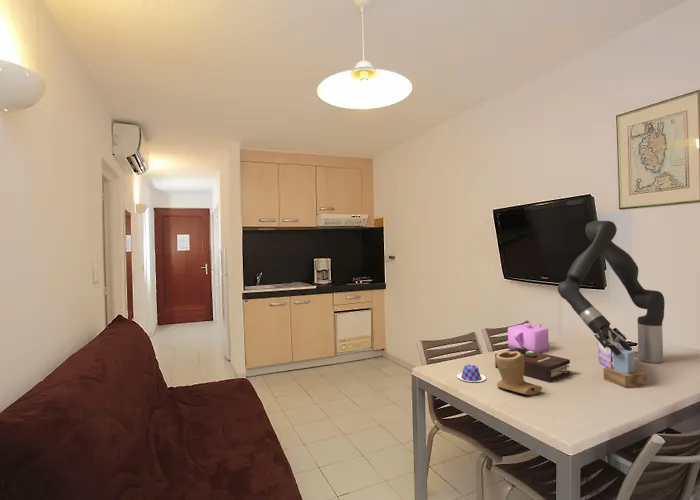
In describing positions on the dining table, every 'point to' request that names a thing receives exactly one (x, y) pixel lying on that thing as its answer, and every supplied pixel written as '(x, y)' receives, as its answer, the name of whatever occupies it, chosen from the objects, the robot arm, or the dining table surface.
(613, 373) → the walnut block
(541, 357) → the decorative book
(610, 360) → the candy box
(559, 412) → the dining table surface
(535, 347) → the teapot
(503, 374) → the tan hollow piece
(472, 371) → the pudding
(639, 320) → the robot arm
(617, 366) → the slate-blue block
